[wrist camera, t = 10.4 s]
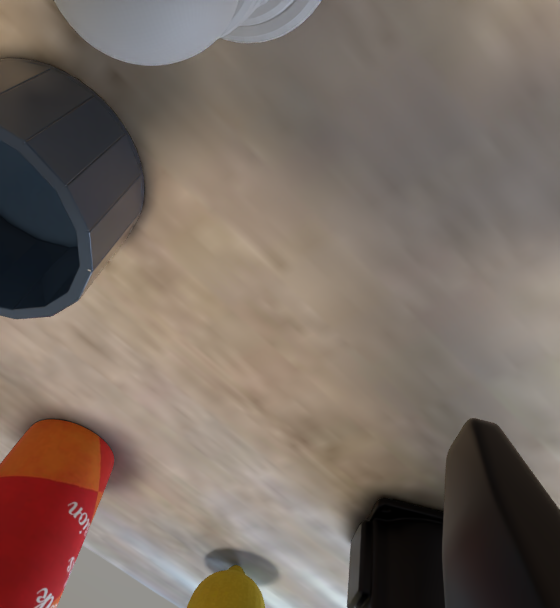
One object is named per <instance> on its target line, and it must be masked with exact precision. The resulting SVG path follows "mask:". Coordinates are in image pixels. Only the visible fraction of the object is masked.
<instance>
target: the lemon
mask: <svg viewBox="0 0 560 608" xmlns="http://www.w3.org/2000/svg"><path fill="white" fill-rule="evenodd" d="M187 608H265V604H264V600H263V597H262V594H261V591H260V589H259V588H258V586H257V585H256V583H255V582H254V581H253V580H252V579H251V578H250V577H248V576H246V575H245V573H244V571H243V569H242V568H241V567H240V566H238V565H234V566H232V567H231V568H229V569H228V570H224V571H219V572H216V573H213V574H212V575H210V576H209V577H207V578H206V579H205V580H203V581H202V582H201V583H200V584H199V586H198V587H197V588H196V590H195V591H194V593H193V595H192V597H191V599H190V601H189V603H188V606H187Z"/></svg>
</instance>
